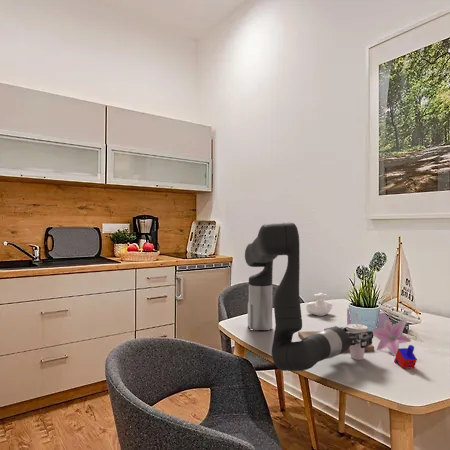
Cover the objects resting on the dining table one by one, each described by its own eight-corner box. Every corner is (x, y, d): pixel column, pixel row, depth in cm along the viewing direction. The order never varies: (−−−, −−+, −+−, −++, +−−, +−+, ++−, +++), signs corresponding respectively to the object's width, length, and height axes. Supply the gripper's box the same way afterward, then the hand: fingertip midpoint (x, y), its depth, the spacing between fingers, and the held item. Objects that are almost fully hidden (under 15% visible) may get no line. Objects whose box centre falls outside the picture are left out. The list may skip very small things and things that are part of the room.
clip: (387, 321, 161) (387, 305, 161) (407, 330, 149) (407, 312, 148) (343, 323, 157) (343, 307, 157) (359, 332, 145) (359, 314, 145)
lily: (367, 346, 132) (363, 325, 128) (396, 332, 133) (393, 310, 130) (391, 370, 121) (386, 347, 117) (422, 353, 123) (419, 331, 119)
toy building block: (400, 372, 111) (407, 352, 107) (394, 360, 115) (400, 341, 111) (412, 372, 111) (419, 352, 107) (405, 360, 115) (412, 341, 111)
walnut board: (313, 352, 123) (314, 348, 123) (298, 335, 141) (298, 331, 140) (374, 351, 124) (374, 346, 124) (351, 334, 142) (351, 330, 142)
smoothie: (364, 354, 122) (365, 310, 121) (370, 361, 115) (370, 315, 115) (344, 353, 122) (344, 309, 122) (348, 360, 116) (348, 314, 116)
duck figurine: (306, 320, 171) (311, 303, 163) (302, 306, 176) (307, 290, 169) (332, 319, 171) (338, 303, 164) (328, 306, 177) (333, 289, 170)
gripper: (352, 335, 104) (383, 324, 115) (309, 324, 115) (341, 315, 126) (352, 363, 104) (383, 349, 115) (309, 349, 115) (341, 338, 126)
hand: (361, 331), depth 120 cm, fingers open, 6 cm apart
